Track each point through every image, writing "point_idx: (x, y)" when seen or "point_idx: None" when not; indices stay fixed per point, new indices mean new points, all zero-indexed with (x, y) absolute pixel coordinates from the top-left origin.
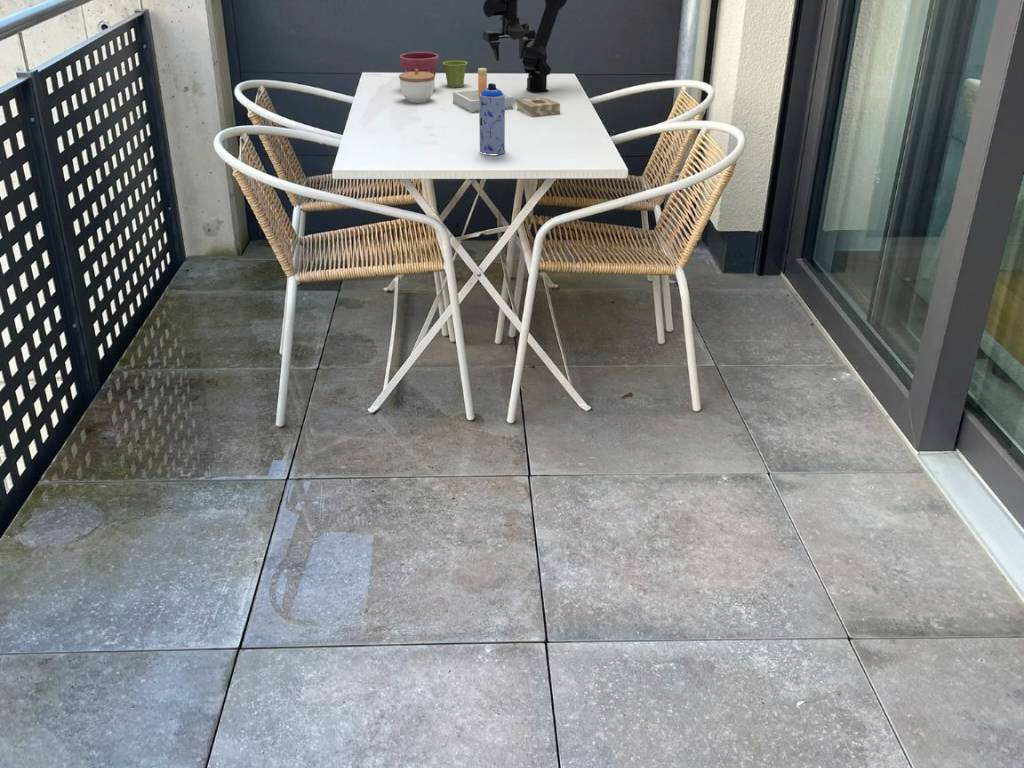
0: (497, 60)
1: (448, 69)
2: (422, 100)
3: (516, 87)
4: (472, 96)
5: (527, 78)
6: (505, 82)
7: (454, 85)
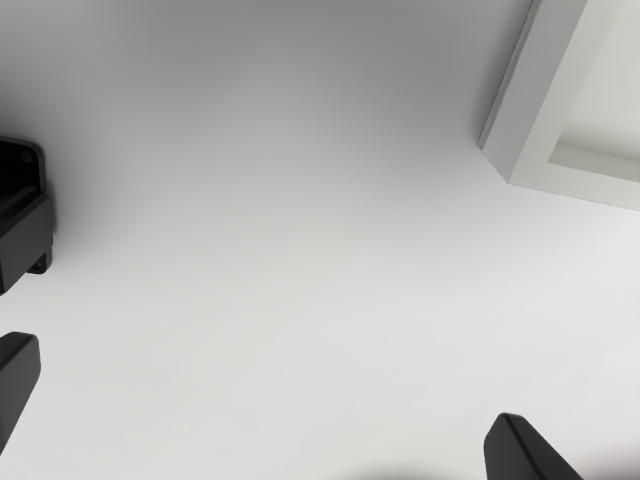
0: (521, 425)
1: None
2: None
3: (85, 352)
4: None
5: (4, 286)
6: (88, 467)
7: None
